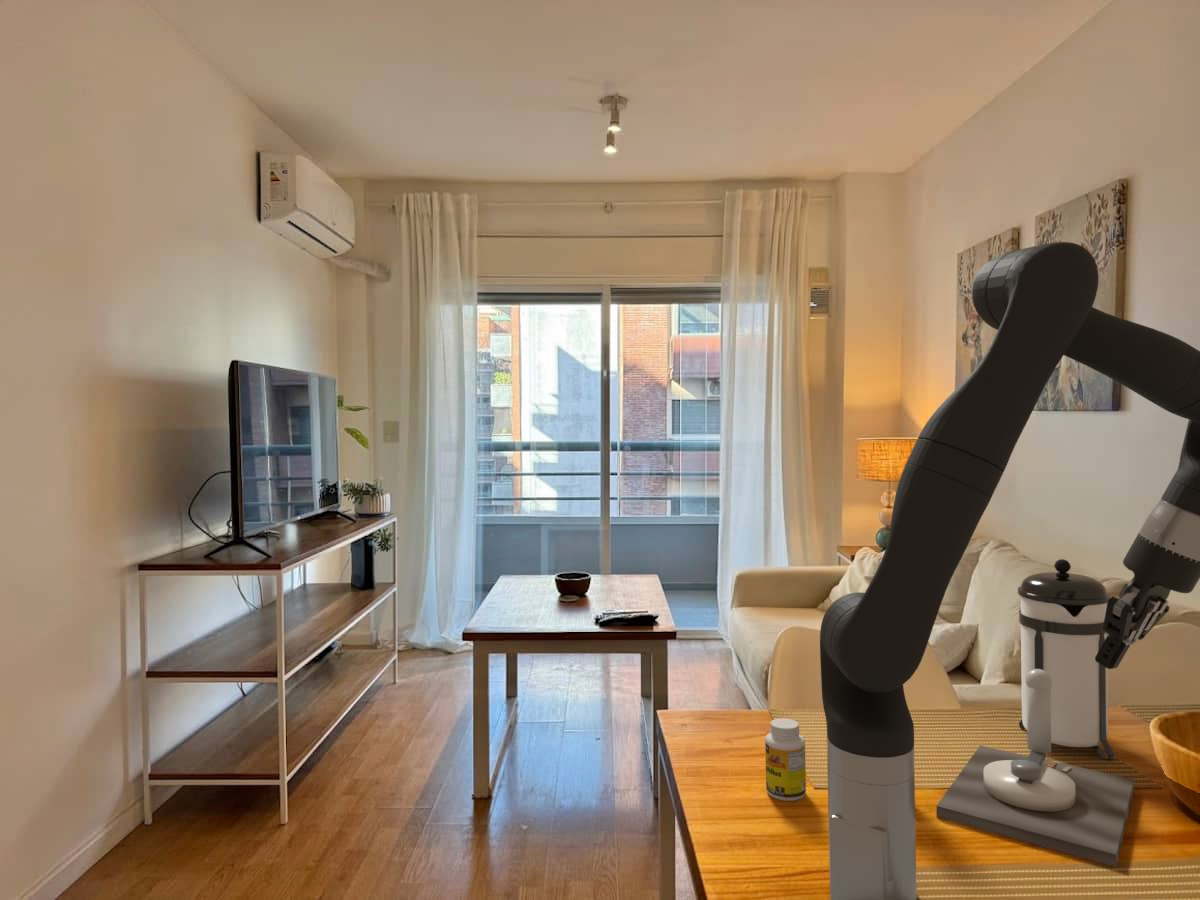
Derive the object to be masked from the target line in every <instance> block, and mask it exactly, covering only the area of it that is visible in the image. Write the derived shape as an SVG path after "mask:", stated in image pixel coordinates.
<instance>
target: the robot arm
mask: <svg viewBox="0 0 1200 900" xmlns="http://www.w3.org/2000/svg"><path fill="white" fill-rule="evenodd" d="M1099 277H1100V276H1099V268H1098V265H1097V262H1096V260H1095V258H1094V256H1093V255H1092V254H1091V252H1090V251H1089V250H1088V249H1087V248H1086V247H1084V246H1083V245H1080V244H1078V243H1075V242H1069V241H1068V242H1067V241H1059V242H1058V241H1057V242H1048V243H1047V242H1046V243H1042V244H1038V245H1034V246H1029V247H1026V248H1025V247H1024V248H1020V249H1016V250H1012V251H1008V252H1005V253H1003V254H1000V255H998V256H996V257H994V258H992V259H991V260H989V261H987V262H986V263H985V264H984V265H983V266H982V267H981V269H980V270H979V271H978V273H977V274H976V276H975V278H974V280H973V283H972V288H971V299H972V302H973V303H972V304H973V307H974V309H975V312H976V313H977V314H978V316H979V318H980V319H981V320H982V321H983V322H984V323H985V324H987V325H988V326H989V327H991V328H993V329H994V330H997V332H996V334H995V336H994V338H993V340H992V343H991V344H990V346H989V348H988V349H987V351H986V353H985V355H984V356H983V358H982V359H981V361H980V362H979V364H978V365H977V366H976V367H975V369H974V370H973V371H972V372H971V373H970V374H969V375H968V376H967V377H966V378H965V380H964V381H963V382H962V383H961V384H960V385H959V386H958V387H957V388H956V389H955V390H954V391H952V393H951V394H950V395H949V396H948V397H946V399H945V400H944V401H943V402H942V403H941V404H940V405H939V406H938V407H937V409H936V410H935V411H934V413H932V414H931V416H930V417H929V419H928V420H927V422H926V423H925V425H924V426H923V428H922V429H921V432H920V433H919V435H918V437H917V439H916V441H915V444H914V445H913V447H912V450H911V452H910V454H909V456H908V458H907V460H906V462H905V465H904V467H903V470H902V472H901V475H900V478H899V480H898V485H897V488H896V492H895V495H894V497H895V498H894V501H893V508H892V513H891V519H890V520H891V521H890V527H889V532H888V533H889V534H888V538H887V543H886V546H885V550H884V553H883V556H882V558H881V561H880V562H879V565H878V568H877V569H876V571H875V573H874V575H873V576H872V579H871V580H870V583H869V584H868V587H867V588H866V590H865V591H864V592H860V591H859V592H850V593H846V594H844V595H842V596H841V597H839V598H837V599H836V600H834V601H833V602H832V603H831V604H830V605H829V606H828V608H827V610H826V611H825V613H824V615H823V618H822V621H821V625H820V632H819V633H820V634H819V656H820V678H821V679H820V680H821V681H820V682H821V683H820V684H821V699H822V706H823V711H824V715H825V721H826V741H827V742H826V744H827V749H826V751H827V754H826V755H827V763H826V764H827V765H826V766H827V799H828V800H827V801H828V802H827V813H828V854H829V856H828V857H829V860H828V861H829V865H828V866H829V889H830V891H829V892H830V893H829V894H830V900H917V898H918V895H917V855H916V854H917V850H916V849H917V847H916V839H917V838H916V799H915V798H916V795H915V794H916V793H915V792H916V787H915V786H916V784H915V726H914V721H913V718H912V715H911V712H910V710H909V709H910V708H909V707H908V704H907V700H906V695H905V691H904V689H905V688H904V684H906V683H907V682H908V681H909V680H910V679H911V678H912V676H913V675H914V674H915V672H916V671H917V670H918V668H919V666H920V665H921V662H922V659H923V657H924V655H925V652H926V649H927V645H928V643H929V640H930V638H931V635H932V632H933V628H934V625H935V622H936V620H937V616H938V614H939V611H940V607H941V605H942V602H943V599H944V597H945V594H946V592H947V589H948V587H949V584H950V583H951V581H952V580H951V579H952V577H953V576H954V573H955V572H956V569H957V568H958V566H959V564H960V562H961V561H962V560H961V559H962V557H963V556H964V553H965V552H966V550H967V548H968V547H969V544H970V542H971V539H972V537H973V536H974V533H975V531H976V528H977V527H978V525H979V523H980V520H981V519H982V517H983V514H984V513H985V511H986V509H987V508H988V506H989V503H990V501H991V500H992V497H993V495H994V493H995V491H996V489H997V488H998V487H997V486H998V485H999V483H1000V481H1001V479H1002V476H1003V474H1004V473H1005V471H1006V468H1007V465H1008V464H1009V461H1010V458H1011V455H1012V453H1014V452H1013V451H1014V450H1015V448H1016V445H1017V443H1018V440H1019V439H1020V437H1021V434H1022V433H1023V431H1024V429H1025V427H1026V425H1027V423H1028V421H1029V419H1030V417H1031V415H1032V413H1033V411H1034V410H1035V407H1036V405H1037V402H1038V401H1039V398H1040V396H1041V394H1042V393H1043V391H1044V389H1045V387H1046V386H1047V384H1048V382H1049V380H1050V378H1051V376H1052V375H1053V373H1054V372H1055V370H1056V368H1057V366H1058V365H1059V363H1060V361H1061V360H1062V358H1063V357H1064V356H1065V357H1066V358H1069V359H1071V360H1073V361H1076V362H1078V363H1080V364H1083V365H1084V366H1087V368H1090V369H1092V370H1094V371H1096V372H1098V373H1100V374H1102V375H1104V376H1105V377H1108V378H1110V379H1111V380H1113V381H1115V382H1117V383H1118V384H1120V385H1122V386H1123V387H1126V388H1127V389H1128V390H1131V391H1132V392H1134V393H1136V394H1137V395H1139V396H1141V397H1143V398H1144V399H1145V400H1148V401H1149V402H1151V403H1153V404H1154V405H1156V406H1158V407H1159V408H1160V409H1163V410H1165V411H1167V412H1169V413H1171V414H1173V415H1175V416H1179V417H1180V418H1183V419H1187V420H1188V422H1187V425H1186V429H1185V434H1184V438H1183V443H1182V446H1181V451H1180V455H1179V462H1178V467H1177V469H1176V472H1175V473H1174V475H1173V477H1172V479H1171V480H1170V482H1169V483H1168V485H1167V487H1166V489H1165V490H1164V493H1163V494H1162V496H1161V497H1160V498H1161V499H1159V501H1158V502H1157V504H1156V505H1155V506H1154V507H1153V509H1151V512H1150V513H1149V514H1148V516H1147V517H1146V519H1145V520H1144V522H1143V524H1142V527H1141V528H1140V530H1139V532H1138V533H1137V535H1136V537H1135V538H1134V541H1133V542H1132V543H1131V546H1130V547H1129V549H1128V551H1127V552H1126V555H1125V556H1124V559H1123V560H1122V564H1123V565H1124V566H1125V568H1126V569H1128V570H1129V571H1131V572H1133V574H1134V575H1133V578H1131V579H1130V581H1129V582H1128V583H1125V584H1124V585H1123V586H1122V588H1120V589H1121V590H1120V591H1119V594H1118V597H1119V598H1117V597H1115V596H1110V599H1109V600H1108V603H1107V608H1106V614H1105V619H1104V625H1103V631H1105V632H1106V634H1107V635H1108V636H1107V638H1106V639H1105V641H1104V643H1103V645H1102V646H1101V648H1100V650H1099V652H1098V653H1097V655H1096V657H1095V660H1096V662H1098V663H1099V664H1101V665H1103V666H1104V667H1106V668H1108V670H1112V669H1117V668H1118V667H1119V665H1120V664H1121V662H1122V660H1123V659H1124V657H1125V656H1126V654H1127V651H1128V650H1129V649H1130V647H1131V646H1133V645H1134V644H1136V643H1137V642H1138V641H1142V640H1143V639H1144V638H1145V637H1146V636H1147V635H1148V634H1149V632H1150V631H1151V630H1152V629H1153V628H1154V627H1155V626H1156V625H1157V623H1158V622H1160V621H1161V619H1162V618H1163V617H1164V616H1165V615H1166V614H1167V613H1168V612H1169V610H1170V605H1168V604H1169V600H1167V599H1168V597H1169V596H1170V594H1171V591H1173V592H1176V593H1180V594H1190V593H1192V592H1193V590H1194V589H1195V587H1196V585H1197V584H1198V582H1199V581H1200V350H1198V349H1197V348H1196V347H1193V346H1192V345H1191V344H1189V343H1187V342H1185V341H1183V340H1181V339H1180V338H1177V337H1175V336H1172V335H1170V334H1168V333H1166V332H1163V331H1160V330H1157V329H1155V328H1151V326H1150V327H1149V326H1146V325H1142V324H1140V323H1136V322H1134V321H1130V320H1127V319H1124V318H1121V317H1118V316H1115V315H1112V314H1111V313H1107V312H1105V311H1102V310H1100V309H1098V308H1096V307H1093V306H1094V303H1095V301H1096V297H1097V294H1098V289H1099Z"/></svg>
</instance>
